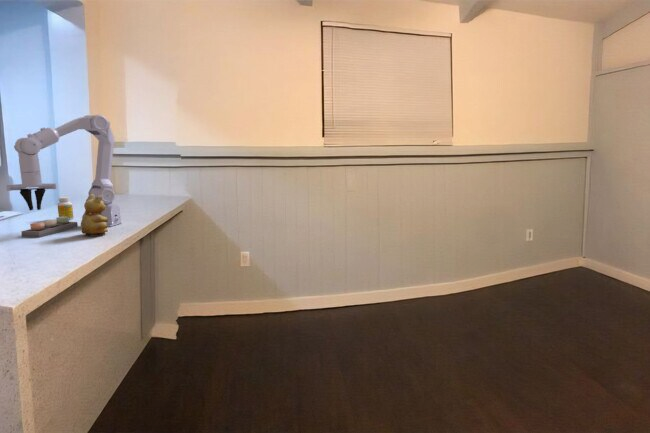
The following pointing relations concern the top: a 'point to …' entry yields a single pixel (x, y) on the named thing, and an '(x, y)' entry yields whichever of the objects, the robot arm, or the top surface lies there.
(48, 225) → the ivory button
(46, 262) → the top surface
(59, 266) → the top surface
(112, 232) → the top surface
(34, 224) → the terracotta button
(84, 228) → the decorative figurine
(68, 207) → the supplement bottle
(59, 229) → the panel
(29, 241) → the top surface
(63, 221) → the sage button
